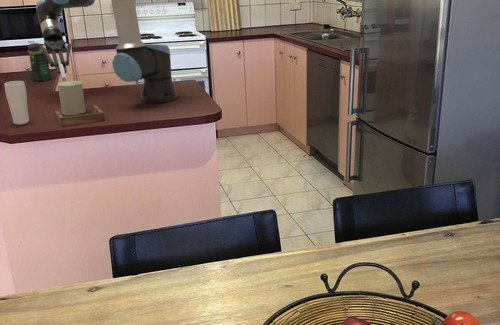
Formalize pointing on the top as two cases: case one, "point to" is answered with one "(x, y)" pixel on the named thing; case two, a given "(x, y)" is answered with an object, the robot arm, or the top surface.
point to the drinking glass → (17, 101)
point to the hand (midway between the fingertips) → (64, 79)
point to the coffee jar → (38, 63)
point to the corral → (80, 117)
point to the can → (71, 97)
